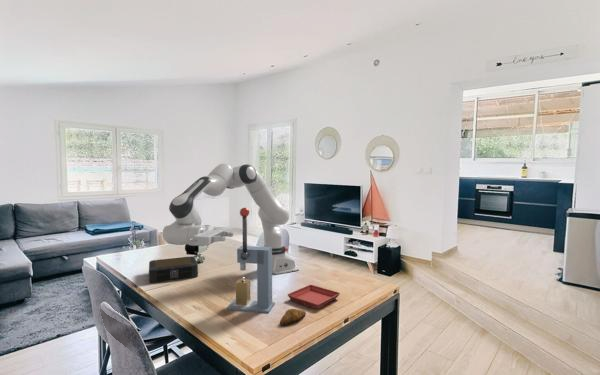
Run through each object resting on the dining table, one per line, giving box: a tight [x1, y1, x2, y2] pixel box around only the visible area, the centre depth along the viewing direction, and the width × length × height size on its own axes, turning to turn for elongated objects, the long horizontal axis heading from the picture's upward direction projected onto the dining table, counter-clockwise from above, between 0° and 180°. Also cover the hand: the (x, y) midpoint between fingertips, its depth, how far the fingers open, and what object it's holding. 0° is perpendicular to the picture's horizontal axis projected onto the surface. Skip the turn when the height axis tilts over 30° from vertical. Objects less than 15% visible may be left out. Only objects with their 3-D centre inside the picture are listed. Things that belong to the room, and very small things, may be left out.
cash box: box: [148, 255, 199, 284], centre depth 189 cm, size 25×20×8 cm
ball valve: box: [184, 244, 209, 263], centre depth 215 cm, size 18×8×18 cm, turn 168°
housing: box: [235, 276, 251, 306], centre depth 148 cm, size 5×5×12 cm
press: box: [225, 245, 275, 314], centre depth 146 cm, size 19×10×26 cm, turn 80°
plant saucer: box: [287, 284, 341, 310], centre depth 154 cm, size 18×18×3 cm
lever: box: [239, 207, 250, 260], centre depth 140 cm, size 4×4×22 cm
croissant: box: [279, 308, 307, 326], centre depth 134 cm, size 14×7×5 cm, turn 135°
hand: (228, 236), depth 142 cm, fingers open, 7 cm apart
